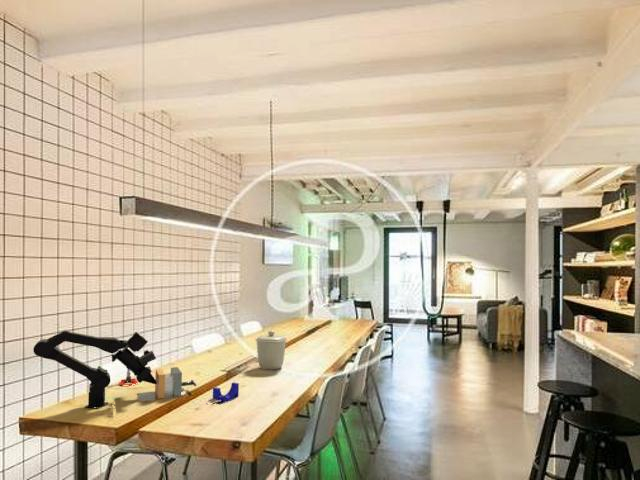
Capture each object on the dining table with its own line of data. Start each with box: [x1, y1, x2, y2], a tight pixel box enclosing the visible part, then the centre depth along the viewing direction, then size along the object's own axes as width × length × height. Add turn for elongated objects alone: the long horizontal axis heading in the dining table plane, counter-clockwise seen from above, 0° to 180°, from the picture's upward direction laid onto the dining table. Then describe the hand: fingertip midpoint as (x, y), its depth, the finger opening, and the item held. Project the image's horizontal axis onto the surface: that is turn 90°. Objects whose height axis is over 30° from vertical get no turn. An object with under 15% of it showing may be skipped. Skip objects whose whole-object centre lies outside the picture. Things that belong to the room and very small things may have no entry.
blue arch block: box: [212, 381, 240, 404], centre depth 194 cm, size 12×4×6 cm, turn 142°
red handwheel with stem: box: [119, 368, 139, 386], centre depth 218 cm, size 8×13×9 cm
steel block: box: [165, 372, 174, 396], centre depth 196 cm, size 4×7×8 cm, turn 27°
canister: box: [255, 330, 288, 371], centre depth 254 cm, size 18×18×21 cm
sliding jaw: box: [154, 368, 166, 400], centre depth 195 cm, size 2×12×10 cm, turn 27°
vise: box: [136, 366, 197, 402], centre depth 196 cm, size 24×13×12 cm, turn 117°
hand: (156, 383), depth 194 cm, fingers closed, pressing on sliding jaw
